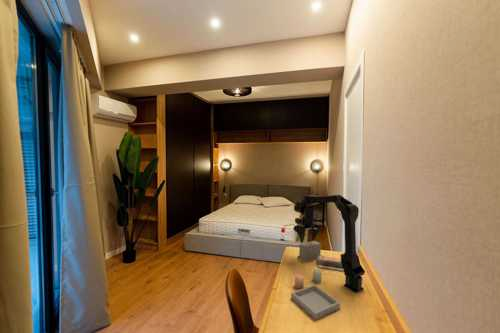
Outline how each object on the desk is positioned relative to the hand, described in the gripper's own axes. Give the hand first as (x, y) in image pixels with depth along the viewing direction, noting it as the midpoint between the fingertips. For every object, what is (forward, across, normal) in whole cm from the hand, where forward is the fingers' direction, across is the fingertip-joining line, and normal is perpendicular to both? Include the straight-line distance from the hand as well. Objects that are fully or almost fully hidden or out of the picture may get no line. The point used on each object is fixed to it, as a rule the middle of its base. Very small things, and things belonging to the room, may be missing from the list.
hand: (307, 241), depth 127 cm
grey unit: (+12, -5, -2) cm, 13 cm away
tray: (+12, +25, +30) cm, 40 cm away
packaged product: (+12, -10, +12) cm, 20 cm away
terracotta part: (+12, +22, +18) cm, 31 cm away
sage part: (+12, +10, +18) cm, 24 cm away
